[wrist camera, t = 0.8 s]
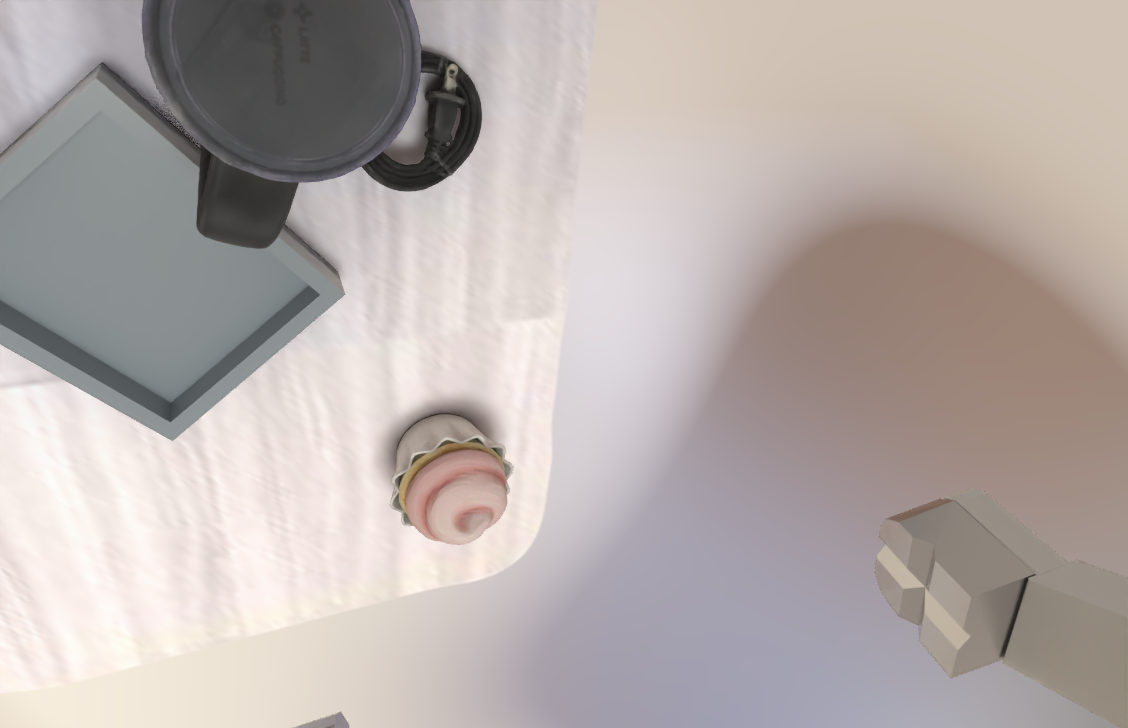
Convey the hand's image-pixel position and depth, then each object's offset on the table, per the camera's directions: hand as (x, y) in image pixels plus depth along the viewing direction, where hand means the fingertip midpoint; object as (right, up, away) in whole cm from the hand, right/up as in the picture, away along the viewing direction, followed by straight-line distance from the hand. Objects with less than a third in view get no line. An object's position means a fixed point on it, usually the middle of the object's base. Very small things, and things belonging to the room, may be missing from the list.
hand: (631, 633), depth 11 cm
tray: (-25, +10, +31) cm, 41 cm away
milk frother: (-13, +21, +29) cm, 38 cm away
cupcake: (-11, -2, +47) cm, 48 cm away
